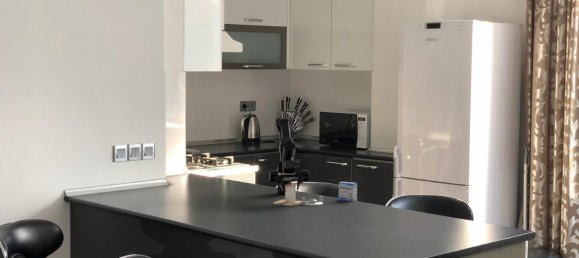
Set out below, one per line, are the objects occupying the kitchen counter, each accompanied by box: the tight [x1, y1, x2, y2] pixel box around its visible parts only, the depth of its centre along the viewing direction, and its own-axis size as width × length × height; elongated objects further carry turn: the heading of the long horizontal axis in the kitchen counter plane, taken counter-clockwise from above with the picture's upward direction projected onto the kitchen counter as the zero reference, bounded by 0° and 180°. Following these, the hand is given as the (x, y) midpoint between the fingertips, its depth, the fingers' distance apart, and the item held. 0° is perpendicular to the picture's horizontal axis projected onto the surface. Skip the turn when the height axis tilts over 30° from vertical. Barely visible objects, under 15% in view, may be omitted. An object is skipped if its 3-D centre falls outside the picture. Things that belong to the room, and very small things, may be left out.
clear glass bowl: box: [301, 195, 324, 207], centre depth 374 cm, size 10×10×4 cm
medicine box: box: [338, 181, 358, 202], centre depth 385 cm, size 8×4×9 cm, turn 62°
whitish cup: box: [284, 183, 297, 203], centre depth 373 cm, size 5×5×8 cm
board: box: [273, 198, 302, 207], centre depth 375 cm, size 11×9×1 cm
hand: (290, 190), depth 372 cm, fingers open, 6 cm apart
